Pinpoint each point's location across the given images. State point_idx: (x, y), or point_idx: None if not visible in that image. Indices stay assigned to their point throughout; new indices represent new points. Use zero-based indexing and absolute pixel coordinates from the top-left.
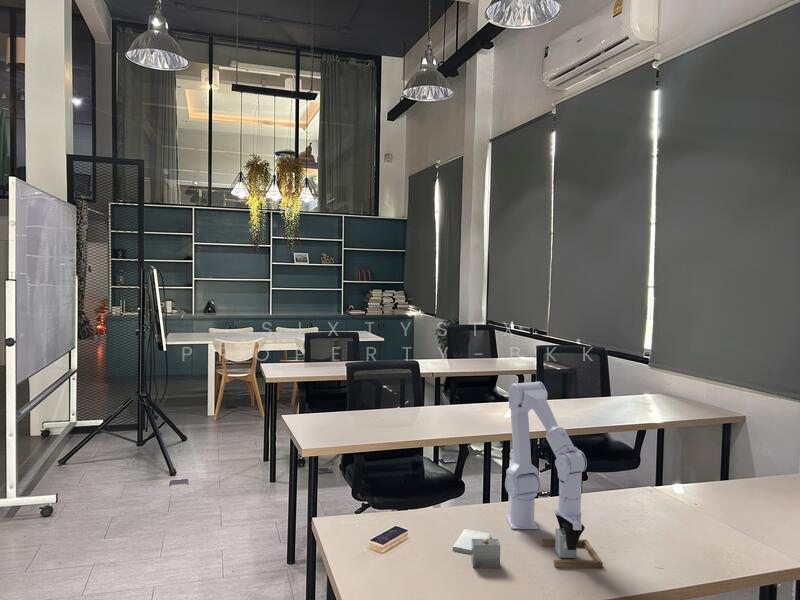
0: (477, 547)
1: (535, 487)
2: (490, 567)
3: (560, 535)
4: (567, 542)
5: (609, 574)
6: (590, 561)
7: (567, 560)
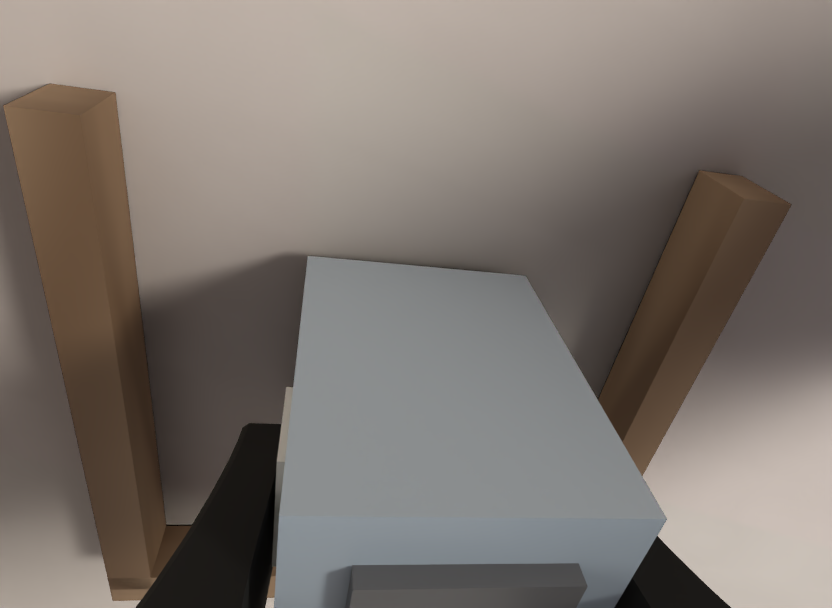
0: None
1: None
2: None
3: (301, 526)
4: (200, 515)
5: (14, 561)
6: (114, 526)
7: (97, 315)
